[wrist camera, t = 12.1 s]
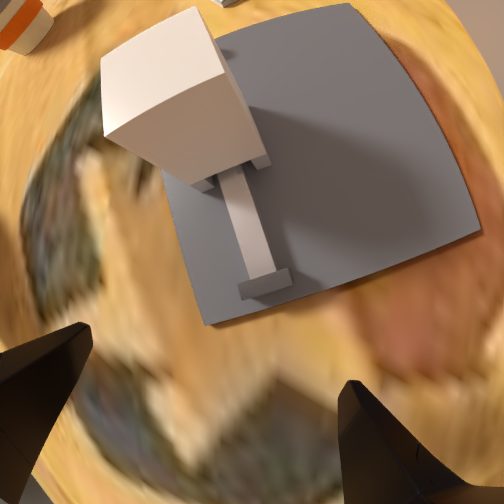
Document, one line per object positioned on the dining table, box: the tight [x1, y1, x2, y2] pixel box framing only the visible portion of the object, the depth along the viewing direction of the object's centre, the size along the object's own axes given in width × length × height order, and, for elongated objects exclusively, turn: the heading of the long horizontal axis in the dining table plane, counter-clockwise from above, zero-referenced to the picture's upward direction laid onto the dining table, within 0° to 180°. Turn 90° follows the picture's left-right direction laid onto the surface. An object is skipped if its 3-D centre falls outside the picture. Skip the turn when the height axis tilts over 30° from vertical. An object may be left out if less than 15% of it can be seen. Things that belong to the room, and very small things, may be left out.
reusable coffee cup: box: [0, 0, 54, 56], centre depth 22 cm, size 12×12×15 cm
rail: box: [217, 163, 295, 301], centre depth 18 cm, size 20×3×2 cm, turn 18°
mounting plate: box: [161, 3, 481, 326], centre depth 18 cm, size 22×20×1 cm
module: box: [101, 6, 272, 193], centre depth 14 cm, size 5×5×10 cm
